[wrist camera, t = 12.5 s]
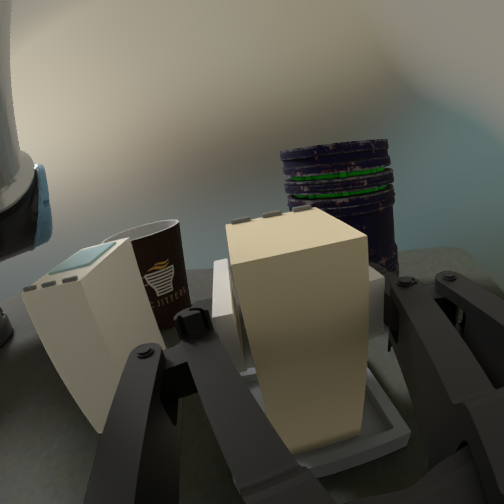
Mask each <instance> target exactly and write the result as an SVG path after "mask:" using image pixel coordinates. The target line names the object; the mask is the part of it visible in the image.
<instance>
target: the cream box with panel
mask: <svg viewBox="0 0 504 504" xmlns="http://www.w3.org/2000/svg"><path fill="white" fill-rule="evenodd" d="M23 290H24V291H23V292H22V293H21V297H22V299H23V302H24V304H25V307H26V309H27V311H28V314H29V316H30V318H31V320H32V323H33V325H34V327H35V329H36V331H37V333H38V336H39V338H40V340H41V342H42V344H43V346H44V348H45V350H46V352H47V354H48V355H49V357H50V359H51V361H52V363H53V365H54V366H55V368H56V370H57V372H58V374H59V375H60V377H61V379H62V380H63V382H64V384H65V385H66V387H67V389H68V390H69V392H70V394H71V395H72V397H73V398H74V400H75V401H76V403H77V404H78V406H79V407H80V409H81V410H82V412H83V413H84V415H85V416H86V418H87V419H88V420H89V422H90V423H91V425H92V426H93V427H94V429H95V430H96V431H97V433H98V434H102V432H103V429H104V426H105V423H106V419H107V416H108V413H109V410H110V407H111V404H112V401H113V398H114V395H115V392H116V389H117V386H118V384H119V381H120V378H121V375H122V372H123V370H124V367H125V364H126V361H127V359H128V356H129V354H130V352H131V351H132V350H133V349H134V348H136V347H137V346H140V345H141V344H146V343H157V344H159V345H160V346H161V348H162V350H165V349H166V346H165V344H164V341H163V339H162V336H161V333H160V331H159V328H158V325H157V322H156V320H155V317H154V314H153V311H152V308H151V305H150V302H149V299H148V296H147V293H146V290H145V287H144V284H143V281H142V278H141V275H140V271H139V268H138V265H137V261H136V258H135V255H134V251H133V248H132V244H131V240H130V237H128V238H123V239H119V240H115V241H111V242H107V243H104V244H100V245H96V246H92V247H88V248H84V249H81V250H80V251H78V252H77V253H75V254H74V255H72V256H71V257H69V258H68V259H66V260H65V261H64V262H62V263H61V264H59V265H58V266H57V267H55V268H54V269H52V270H51V271H50V272H48V273H47V274H46V275H44V276H43V277H42V278H40V279H39V280H37V281H36V282H35V283H33V284H32V285H31V286H29V287H25V288H24V289H23Z"/></svg>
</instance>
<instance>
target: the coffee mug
mask: <svg viewBox="0 0 504 504" xmlns="http://www.w3.org/2000/svg"><path fill="white" fill-rule="evenodd" d="M128 237H130V240H131V244H132V248H133V251H134V255H135V258H136V261H137V265H138V268H139V271H140V275H141V278H142V281H143V284H144V287H145V290H146V293H147V296H148V299H149V302H150V305H151V308H152V311H153V314H154V317H155V320H156V322H157V325H158V328H159V330H165V329H168V328H171V327H174V326H175V323H174V316H175V315H176V314H177V313H178V312H180V311H182V310H184V309H186V308H190V307H191V302H190V296H189V290H188V283H187V277H186V270H185V263H184V256H183V249H182V241H181V234H180V226H179V221H178V220H164V221H158V222H153V223H149V224H145V225H141V226H138V227H134V228H131V229H128V230H125V231H123V232H120V233H117V234H115V235H113V236H111V237H109V238H107V239H105V240H104V241H103V242H102V243H101V244H104V243H107V242H111V241H115V240H119V239H123V238H128Z"/></svg>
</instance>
